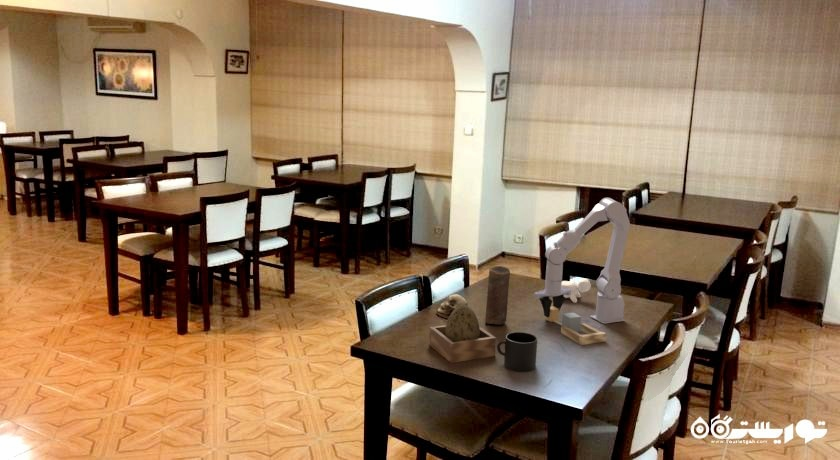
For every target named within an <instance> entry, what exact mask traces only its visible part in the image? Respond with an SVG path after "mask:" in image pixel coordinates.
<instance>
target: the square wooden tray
mask: <svg viewBox="0 0 840 460" xmlns="http://www.w3.org/2000/svg"><path fill="white" fill-rule="evenodd" d="M479 327H480V334H479V338H478V339H472V340H465V341H458V342H452V341H451V340H450V339H449V338H447V337H446V335H445V328H446V324H445V325H437V326H430V327H429V342H428V343H429V344H428V345H429V346H430V347H431V348H432V349H433V350H435V351H436V352H437V353H438V354H439V355H441V356H442V357H443V358H444V357H445V358H444V359H446V360H447V361H448V362H450V364H452V363H458V362H464V361H470V360H476V359H477V360H478V359H485V358H491V357H495V356H496V349H497V346H496V345H497V344H496V343H497V337H496V336H494V335H493V334H491V333H490V332H488V331H487V330H485V328H482V326H479Z"/></svg>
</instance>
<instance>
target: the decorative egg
mask: <svg viewBox="0 0 840 460" xmlns="http://www.w3.org/2000/svg"><path fill="white" fill-rule="evenodd" d="M478 319H479V318H478V316H477V315H476V312H475V311H474V310H473V308H471V307H470V306H469V305H468V304H467V305H460V306H458V307H457V308H455V309H454V311H453V312H452V313H451V315H450V316H449V318H447V321H446V324H445V325H446V328H445V335H446V337H447V338H449V339H450V340H451V341H452V342H458V341H465V340H472V339H478V338H479V334H480V327H481V326H480V322H479V320H478Z"/></svg>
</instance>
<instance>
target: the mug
mask: <svg viewBox="0 0 840 460" xmlns="http://www.w3.org/2000/svg"><path fill="white" fill-rule="evenodd" d="M503 344H504V351H502V350H501V345H503ZM496 345H497V346H496V350H497V353H498V354H499V355H502V356H503V359H504V360H503V365H504V366H505V368H507V369H509V370H510V371H515V372H519V373H520V372H523V373H524V372H525V373H526V372H531V371H533V370H534V369H535V368H536V367H537V366H536V365H537V348H538V337H537V336H536V335H534V334H532V333H530V332H529V333H528V332H524V331H523V332H522V331H517V332H516V331H514V332H510V333H507V334H506V335H505V340H502V341H499V342H498V343H497V344H496Z"/></svg>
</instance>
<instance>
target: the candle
mask: <svg viewBox="0 0 840 460" xmlns="http://www.w3.org/2000/svg"><path fill="white" fill-rule="evenodd" d="M488 271H489V272H488V281H487V282H488V284H487V297H486V304H485V305H486V307H485V316H484V317H485V319H484V321H485V322H486V324H491V325H495V326H501V325H503V324H504V323H506V322H507V314H508V304H509V303H508V301H509V300H508V299H509V288H510V287H509V286H510V275H511V271H510V269H509V268H508V267H506V266H501V265H498V266H497V265H496V266H495V265H494V266H491V267H490V268H489V270H488Z"/></svg>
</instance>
